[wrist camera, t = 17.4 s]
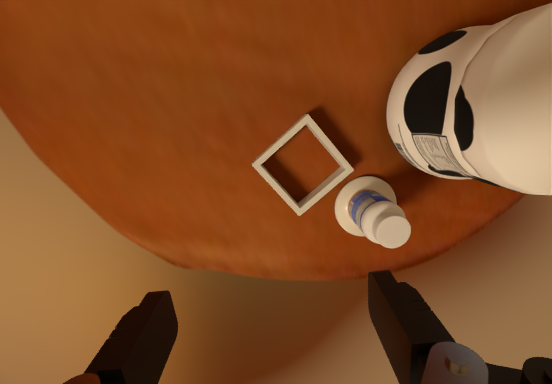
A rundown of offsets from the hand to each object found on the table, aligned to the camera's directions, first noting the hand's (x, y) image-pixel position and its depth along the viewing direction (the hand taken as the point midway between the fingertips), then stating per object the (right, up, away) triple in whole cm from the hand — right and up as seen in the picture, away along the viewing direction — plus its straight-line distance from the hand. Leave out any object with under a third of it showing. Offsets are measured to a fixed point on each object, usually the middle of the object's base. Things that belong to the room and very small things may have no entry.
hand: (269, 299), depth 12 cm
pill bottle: (+13, +2, +30) cm, 33 cm away
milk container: (+23, +16, +28) cm, 39 cm away
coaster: (+13, +2, +31) cm, 34 cm away
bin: (+4, +8, +29) cm, 30 cm away
